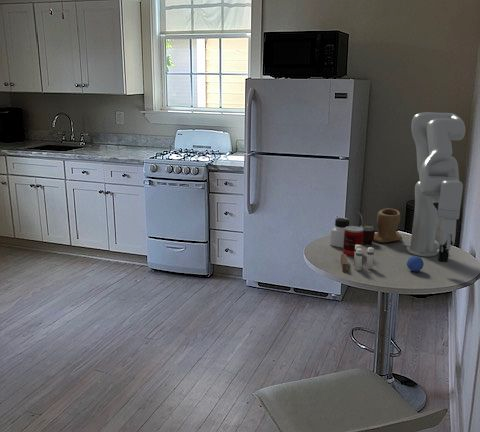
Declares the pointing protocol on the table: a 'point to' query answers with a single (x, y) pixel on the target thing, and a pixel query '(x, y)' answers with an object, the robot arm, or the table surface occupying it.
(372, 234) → the mate gourd
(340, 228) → the medicine bottle
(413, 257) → the ball
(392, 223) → the stone cup
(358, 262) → the back pin left
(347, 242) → the canned food
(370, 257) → the front pin
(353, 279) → the table surface
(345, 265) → the stopper wall
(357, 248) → the back pin right
